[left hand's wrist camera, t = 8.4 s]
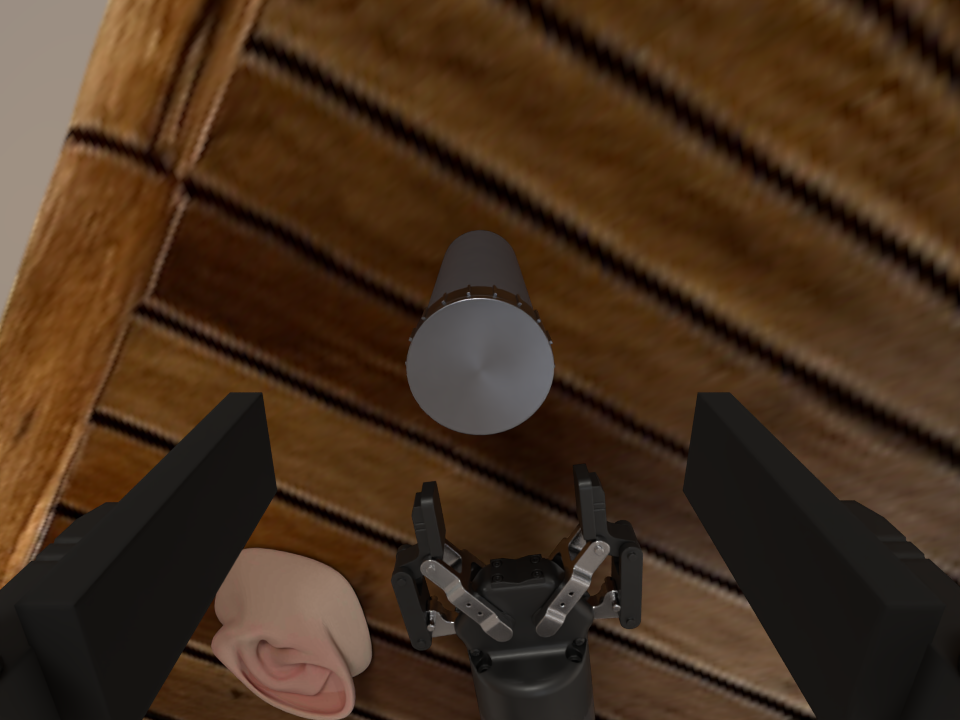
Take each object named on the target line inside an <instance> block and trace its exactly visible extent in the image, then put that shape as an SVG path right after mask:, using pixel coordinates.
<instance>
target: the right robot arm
mask: <svg viewBox="0 0 960 720" xmlns="http://www.w3.org/2000/svg"><path fill="white" fill-rule="evenodd" d="M573 474H574V485H575V495H576V506H577V516H578V520H579V524H578V526H577V527H576V528H575V530H574V531H573V532H572V534H571V535H570V536H569V538H563V539H562V540H561V541H560V543H559V544H558V545H557V547H556V548H555V549H554V551H553V552H552V553H551V555H550V556H549V557H548V559H545V558H542V557H541V554H537V555H528V556H525V557H522V558H520V559H516V560H514V559H504V558H501V559H492V560H490V564H488V565H485V564H484V563H483V562H481V561H480V560H479V559H478V558H476V557H475V556H474V555H473V554H471V553H470V552H469V551H468V550H466V549H463V550H459V549H458V548H457V547H455V546H454V545H453V544H452V543H450V542H449V541H448V540H447V539H445V534H446V529H445V524H444V519H443V514H442V508H441V503H440V498H439V493H438V488H437V483H436V481H431V482H423V486H422V492H419V493H416V496H415V500H414V506H413V511H412V520H413V524H414V529H415V533H416V538H417V542H418V543H417V544H416V545H414V546H412V545H408V544H405V545H402V546H400V547H399V548H398V550H397V554H396V563H395V568H394V571H393V574H392V579H391V582H392V586H393V589H394V592H395V595H396V598H397V601H398V604H399V607H400V610H401V613H402V616H403V619H404V622H405V625H406V628H407V631H408V635H409V638H410V641H411V644H412V646H413V647H414V648H415V649H417V650H426V649H428V648H429V647H430V646H431V643H432V637H438V636H444V635H451V634H457V636H458V637H459V638H460V639H461V640H462V641H463V642H464V643H465V645H466V647H467V650H468V655H469V660H470V665H471V670H472V675H473V680H474V685H475V691H476V696H477V701H478V706H479V711H480V716H481V720H595V710H594V700H593V689H592V678H591V668H590V657H589V646H588V636H587V634H588V630H589V628H590V626H591V624H592V623H593V620H594V619H603V618H619V620H620V623H621V626H622V627H624V628H626V629H633V628H636V627H637V626H639V624H640V622H641V598H642V567H643V553H642V550H641V548H640V545H639V543H638V540H637V538H636V535H635V533H634V530H633V528H632V525H631V524H630V522H628V521H626V520H620V521H617V522H615V523H610V522H608V521H606V509H605V508H606V507H605V494H604V491H603V488H602V485H601V482H600V480H599V478H598V476H597V474H596V473H595V472H592V473H588V470H587V467H586V464H578V465H573ZM607 555H611V556H612V570H611V577H609V576H608V577H606V578H605V579H604V581H605V582H604V583H603V584H602V586H601V590H600V592H599V593H598V594H596V595H594V596H590V595H589V593H588V592H587V591H586V590H587V589H588V588H589V586H590V583H591V577H592V574H593V573H594V572H595V570H596V569H597V568H598V567H599V565H600V564H601V563H602V562H603V560H604V559H605V558H606V556H607ZM424 576H426V577H427V578H428V579H430V580H431V581H432V582H434V583H435V584H436V585H438V586H439V587H440V588H441V589H443V590H444V591H445V593H446V596H447V598H448V600H449V601H450V602H451V603H452V604H453V605H455V606H456V608H455V611H448V610H446V609H445V608H444V607H443V606H442V604H441V603H440V602H439V601H438V598H437V596H431V597H430V594H429V591H428V587H427V584H426V581H425V577H424ZM471 581H472V583H471Z"/></svg>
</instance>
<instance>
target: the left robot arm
mask: <svg viewBox="0 0 960 720" xmlns="http://www.w3.org/2000/svg"><path fill="white" fill-rule="evenodd" d="M276 492H277V487H276V480H275V473H274V467H273V460H272V454H271V447H270V440H269V434H268V427H267V421H266V414H265V407H264V401H263V394H262V393H229V394H228V395H227V396H226V397H225V398H224V399H223V400H222V401H221V402H220V403H219V404H218V405H217V406H216V407H215V408H214V409H213V410H212V411H211V412H210V413H209V414H208V415H207V416H206V417H205V418H204V419H203V420H202V421H201V422H200V423H199V424H198V425H197V426H196V427H195V428H194V429H193V430H192V431H191V432H190V433H189V434H187V435H186V436H185V437H184V438H183V439H182V440H181V441H180V442H179V443H178V444H177V445H176V446H175V447H174V448H173V449H172V450H171V451H170V452H169V453H168V454H167V455H166V456H165V457H164V458H163V459H162V460H161V461H160V462H159V463H158V464H157V465H156V466H155V467H154V468H153V469H152V470H151V471H150V472H149V473H148V474H147V475H146V476H145V477H144V478H143V479H142V480H141V481H140V482H139V483H138V484H137V485H136V486H135V487H134V488H133V489H132V490H131V491H130V492H129V493H128V494H126V495H125V496H124V497H123V498H122V499H121V500H120V501H119V502H106V503H104V504H102V505H101V506H99V507H97V508H95V509H94V510H92V511H90V512H88V513H87V514H85V515H83V516H82V517H80V518H78V519H76V520H75V521H74V522H73V523H72V524H71V525H70V526H69V527H68V528H67V529H66V530H64V531H63V532H62V533H61V534H60V535H59V536H58V537H57V538H56V539H55V542H54V544H49V545H48V546H47V547H46V548H45V549H44V550H43V551H42V552H41V553H40V554H38V555H37V556H36V560H35V561H31V562H30V563H29V564H28V565H27V566H26V567H24V568H23V569H22V570H21V571H20V572H19V573H18V574H17V575H16V576H15V577H14V578H13V579H11V580H10V581H9V582H8V583H7V584H6V585H5V586H4V587H3V588H2V589H1V590H0V720H142V719H143V717H144V716H145V714H146V712H147V711H148V709H149V707H150V706H151V704H152V702H153V701H154V699H155V697H156V695H157V694H158V692H159V690H160V689H161V687H162V685H163V684H164V682H165V680H166V678H167V677H168V675H169V673H170V672H171V670H172V668H173V667H174V665H175V663H176V661H177V660H178V658H179V656H180V655H181V653H182V651H183V650H184V648H185V646H186V645H187V643H188V641H189V639H190V638H191V636H192V634H193V633H194V631H195V629H196V628H197V626H198V624H199V622H200V621H201V619H202V617H203V616H204V614H205V612H206V611H207V609H208V607H209V606H210V604H211V602H212V600H213V599H214V597H215V595H216V594H217V592H218V590H219V589H220V587H221V585H222V583H223V582H224V580H225V578H226V577H227V575H228V573H229V572H230V570H231V568H232V567H233V565H234V563H235V561H236V560H237V558H238V556H239V555H240V553H241V551H242V550H243V548H244V546H245V544H246V543H247V541H248V539H249V538H250V536H251V534H252V533H253V531H254V529H255V528H256V526H257V524H258V522H259V521H260V519H261V517H262V516H263V514H264V512H265V511H266V509H267V507H268V505H269V504H270V502H271V500H272V499H273V497H274V495H275V494H276ZM683 492H684V494H685V495H686V497H687V499H688V500H689V502H690V504H691V505H692V507H693V509H694V511H695V512H696V514H697V516H698V517H699V519H700V521H701V522H702V524H703V526H704V528H705V529H706V531H707V533H708V534H709V536H710V538H711V539H712V541H713V543H714V544H715V546H716V548H717V550H718V551H719V553H720V555H721V556H722V558H723V560H724V561H725V563H726V565H727V567H728V568H729V570H730V572H731V573H732V575H733V577H734V578H735V580H736V582H737V583H738V585H739V587H740V589H741V590H742V592H743V594H744V595H745V597H746V599H747V600H748V602H749V604H750V606H751V607H752V609H753V611H754V612H755V614H756V616H757V617H758V619H759V621H760V623H761V624H762V626H763V628H764V629H765V631H766V633H767V634H768V636H769V638H770V639H771V641H772V643H773V645H774V646H775V648H776V650H777V651H778V653H779V655H780V656H781V658H782V660H783V662H784V663H785V665H786V667H787V668H788V670H789V672H790V673H791V675H792V677H793V678H794V680H795V682H796V684H797V685H798V687H799V689H800V690H801V692H802V694H803V695H804V697H805V699H806V701H807V702H808V704H809V706H810V707H811V709H812V711H813V712H814V714H815V716H816V717H817V719H818V720H960V587H959V586H958V585H957V584H956V583H955V582H954V581H953V580H952V579H951V578H950V577H948V576H947V575H946V574H945V573H944V572H943V571H942V570H941V569H940V568H939V567H938V566H936V565H935V564H934V563H933V562H932V561H931V560H930V559H925V557H924V554H923V553H922V552H921V551H920V550H919V549H918V548H917V547H916V546H915V545H914V544H912V543H911V542H907V541H906V537H905V536H904V535H903V534H902V533H900V532H899V531H898V530H897V529H896V528H895V527H894V526H893V525H892V524H891V523H890V522H888V521H887V520H886V519H885V518H884V517H882V516H881V515H879V514H877V513H875V512H874V511H872V510H870V509H868V508H867V507H865V506H863V505H862V504H860V503H858V502H856V501H855V500H839V499H838V498H837V497H836V496H835V495H833V494H832V493H831V492H830V491H829V490H828V489H827V488H826V487H825V486H824V485H823V484H822V483H821V482H820V481H819V480H818V479H817V478H816V477H815V476H814V475H813V474H812V473H811V472H810V471H809V470H808V469H807V468H806V467H805V466H804V465H803V464H802V463H801V462H800V461H799V460H798V459H797V458H796V457H795V456H794V455H793V454H792V453H791V452H790V451H789V450H788V449H787V448H786V447H785V446H784V445H783V444H782V443H781V442H780V441H779V440H778V439H777V438H776V437H775V436H774V435H773V434H771V433H770V432H769V431H768V430H767V429H766V428H765V427H764V426H763V425H762V424H761V423H760V422H759V421H758V420H757V419H756V418H755V417H754V416H753V415H752V414H751V413H750V412H749V411H748V410H747V409H746V408H745V407H744V406H743V405H742V404H741V403H740V402H739V401H738V400H737V399H736V398H735V397H734V396H733V395H732V394H731V393H698V394H697V401H696V407H695V414H694V421H693V427H692V434H691V440H690V447H689V454H688V460H687V467H686V473H685V480H684V487H683Z"/></svg>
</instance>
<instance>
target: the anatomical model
mask: <svg viewBox="0 0 960 720" xmlns="http://www.w3.org/2000/svg"><path fill="white" fill-rule="evenodd" d="M215 611H216V615H217V617H218V619H219V620H220V622H221V623H222V624H223V627H222V628H221V629H220V630H219V631H218V632H217V633H216V635H215V636H214V638H213V640H212V644H211V647H212V651H213V653H214V654H215V655H216V657H217V658H218V659H219V660H220V661H221V662H222V663H223V664H224V665H225V666H226V667H227V668H228V669H229V670H230V671H231V672H232V673H233V674H234V675H235V676H236V677H237V678H238V679H239V680H240V681H241V682H242V683H243V684H244V685H245V686H247V687H248V688H249V689H250V690H251V691H252V692H253V693H254V694H256V695H257V696H258V697H260V698H261V699H262V700H264V701H265V702H267V703H269V704H271V705H272V706H274V707H276V708H279V709H281V710H283V711H286V712H288V713H291V714H294V715H297V716H300V717H304V718H308V719H314V720H338V719H342V718H344V717H346V716H348V715H349V714H350V713H351V712H352V710H353V708H354V705H355V687H354V682H353V679H352V677H354V676H356V675H358V674H360V673H361V672H363V671H364V670H365V669H366V668H367V667H368V666H369V664H370V662H371V658H372V648H371V640H370V635H369V630H368V626H367V623H366V620H365V617H364V614H363V611H362V608H361V605H360V603H359V600H358V598H357V596H356V594H355V592H354V590H353V589H352V587H351V585H350V584H349V583H348V581H347V580H346V579H345V578H344V577H343V576H342V575H341V574H340V573H339V572H337V571H336V570H334V569H333V568H331V567H329V566H327V565H325V564H323V563H321V562H318V561H316V560H313V559H310V558H307V557H304V556H301V555H297V554H292V553H288V552H283V551H278V550H272V549H263V548H247V549H243V550H242V551H241V553H240V555H239V556H238V558H237V560H236V561H235V563H234V565H233V567H232V568H231V570H230V572H229V573H228V575H227V577H226V578H225V580H224V582H223V583H222V585H221V587H220V589H219V590H218V592H217V594H216V599H215Z"/></svg>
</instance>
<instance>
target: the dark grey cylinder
mask: <svg viewBox="0 0 960 720" xmlns="http://www.w3.org/2000/svg"><path fill="white" fill-rule="evenodd" d="M467 285H471V287H473V286H488V287H493V285H496V288H499V289H502V290H505V291H508V292H510V293H512V294H514V295H516V294H519V295H520V298H521V299H522V300H523V301H525V302H526V303H527V304H528V305H529V306H530V307H531V308H532V309H533V307H532V304H531V301H530V298H529V295H528V292H527V289H526V286H525V283H524V280H523V277H522V274H521V271H520V268H519V265H518V261H517V258H516V256H515V253H514V251H513V249H512V247H511V246H510V245H509V243H508V242H507V241H506V240H505V239H503V238H502V237H501V236H499V235H497V234H495V233H493V232H489V231H483V230H477V231H471V232H468V233H465V234H463V235H461V236H460V237H458V238H457V239H456V240H454V241H453V243H452V244H451V245H450V246H449V248H448V249H447V251H446V254H445V256H444V259H443V262H442V265H441V268H440V271H439V275H438V278H437V281H436V284H435V287H434V290H433V293H432V296H431V299H430V302H429V305H428V308H429V307H430V306H431V305H432V304H433V303H435V302H436V301H437V300H439V299H440V298H441V297H443V294H444V293H445V292H447V294H448V293H450V292H453V291H455V290H458V289H462V288H466V287H467Z"/></svg>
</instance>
